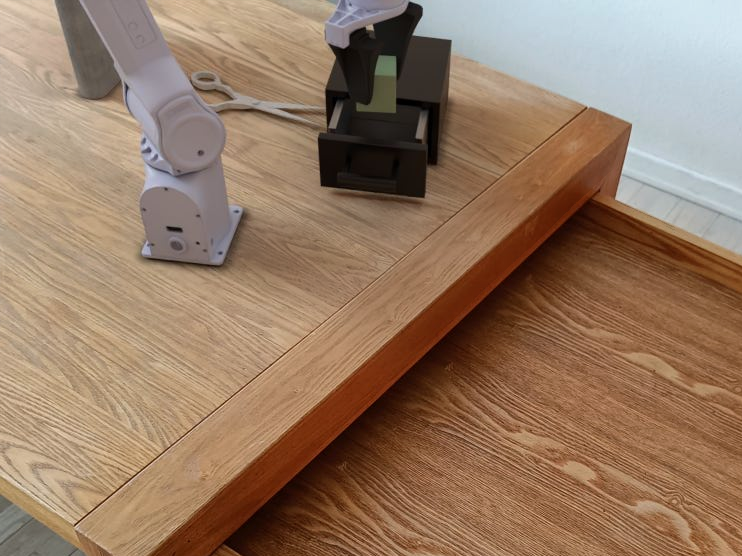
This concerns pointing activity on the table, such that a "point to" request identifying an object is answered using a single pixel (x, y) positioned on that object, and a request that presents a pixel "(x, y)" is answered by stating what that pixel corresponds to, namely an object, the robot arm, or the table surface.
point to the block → (383, 87)
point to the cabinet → (411, 84)
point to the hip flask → (86, 51)
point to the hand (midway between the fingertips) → (375, 88)
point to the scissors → (244, 98)
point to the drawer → (376, 150)
